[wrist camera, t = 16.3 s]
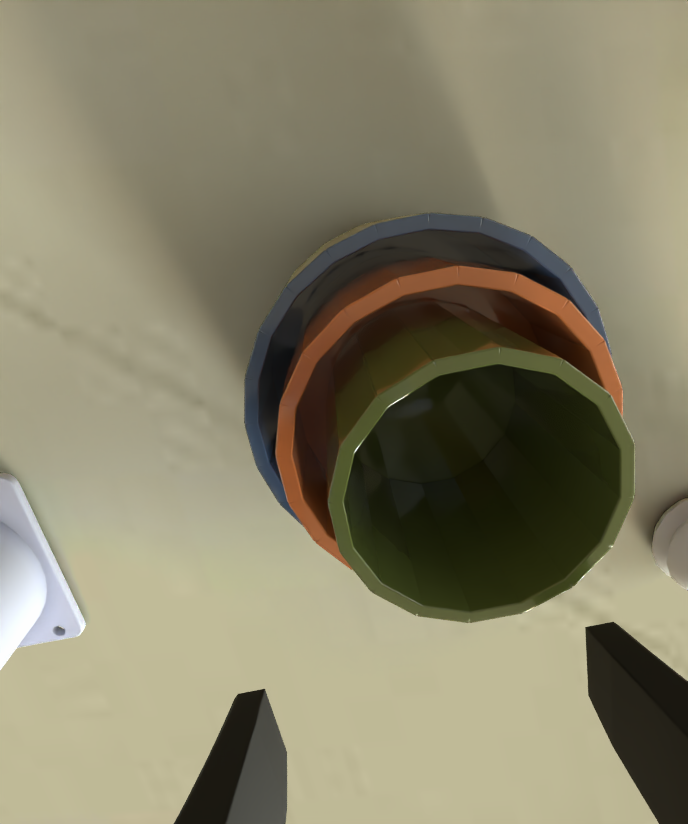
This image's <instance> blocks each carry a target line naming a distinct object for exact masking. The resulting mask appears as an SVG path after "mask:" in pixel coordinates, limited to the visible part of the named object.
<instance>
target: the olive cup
mask: <svg viewBox="0 0 688 824" xmlns="http://www.w3.org/2000/svg"><path fill="white" fill-rule="evenodd" d="M634 443H635V442H634V440H633V438H632V436H631V434H630V432H629V430H628V428H627V426H626V424H625V422H624V419H623V417H622V415H621V413H620V411H619V409H618V407H617V405H616V403H615V401H614V399H613V397H612V395H610V393H609V392H608V391H606V390H605V389H604V388H602V387H601V386H600V385H598V384H597V383H596V382H594V381H593V380H592V379H590V378H589V377H587V376H586V375H585V374H583V373H582V372H581V371H579V370H578V369H577V368H575V367H574V366H572V365H571V364H570V363H568V362H567V361H566V360H564V359H562V358H560V357H559V356H557V355H555V354H553V353H551V352H549V351H548V350H546V349H544V348H542V347H540V346H539V345H537V344H535V343H533V342H531V341H529V340H528V339H526V338H524V337H522V336H520V335H518V334H517V333H515V332H513V331H511V330H509V329H507V328H506V327H504V326H502V325H500V324H498V323H497V322H495V321H493V320H491V319H489V318H487V317H486V316H484V315H482V314H480V313H478V312H476V311H475V310H472V309H468V308H464V307H461V306H457V305H454V304H450V303H443V302H417V303H409V304H406V305H402V306H398V307H395V308H393V309H391V310H388V311H386V312H384V313H382V314H380V315H378V316H377V317H375V318H373V319H372V320H370V321H369V322H368V323H366V324H365V325H364V326H362V327H361V328H360V329H359V330H358V331H357V332H356V333H355V334H354V335H353V336H352V337H351V338H350V340H349V341H348V342H347V344H346V345H345V346H344V347H343V349H342V351H341V353H340V354H339V356H338V358H337V360H336V362H335V365H334V367H333V369H332V373H331V376H330V380H329V385H328V393H327V399H326V446H327V491H328V507H329V511H330V515H331V519H332V524H333V528H334V532H335V536H336V541H337V545H338V549H339V552H340V554H341V555H342V556H343V558H344V559H345V560H346V561H347V563H348V564H349V565H350V566H351V568H352V569H353V570H354V571H355V573H356V574H357V575H358V576H359V577H360V579H361V580H362V581H363V582H364V584H365V585H366V586H367V587H368V589H369V590H370V591H372V593H374V594H376V595H378V596H380V597H381V598H383V599H385V600H387V601H389V602H391V603H393V604H395V605H397V606H398V607H400V608H402V609H404V610H406V611H408V612H410V613H412V614H414V615H417V616H420V617H427V618H435V619H442V620H450V621H457V622H465V623H469V622H470V623H473V622H478V621H484V620H489V619H494V618H500V617H505V616H511V615H516V614H522V613H523V612H527V611H529V610H530V609H532V608H534V607H536V606H538V605H540V604H542V603H544V602H546V601H548V600H549V599H551V598H553V597H555V596H557V595H559V594H561V593H563V592H565V591H567V590H569V589H570V588H572V586H575V585H576V584H577V583H578V582H579V581H580V580H581V579H582V578H583V577H584V576H585V574H586V573H587V572H588V571H589V570H590V569H591V568H592V567H593V566H594V565H595V564H596V563H597V562H598V561H599V560H600V559H601V558H602V557H603V556H604V555H605V554H606V553H607V552H608V551H609V550H610V549H611V546H613V544H614V542H615V540H616V538H617V535H618V533H619V531H620V529H621V527H622V524H623V522H624V520H625V518H626V515H627V513H628V511H629V509H630V506H631V504H632V502H633V500H634V496H635V444H634Z"/></svg>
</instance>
